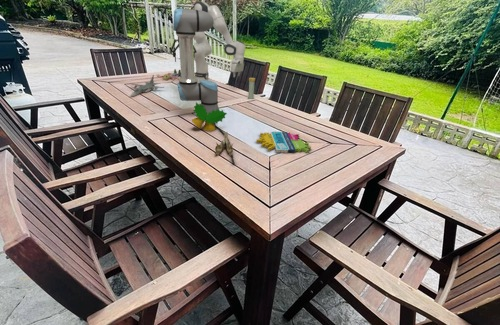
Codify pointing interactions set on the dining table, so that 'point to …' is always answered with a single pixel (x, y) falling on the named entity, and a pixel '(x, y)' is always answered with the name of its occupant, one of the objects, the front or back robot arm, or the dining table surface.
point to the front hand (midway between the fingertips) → (184, 61)
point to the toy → (171, 75)
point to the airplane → (145, 87)
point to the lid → (252, 79)
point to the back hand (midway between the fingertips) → (236, 76)
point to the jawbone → (224, 145)
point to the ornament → (207, 117)
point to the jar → (251, 90)
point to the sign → (283, 142)
